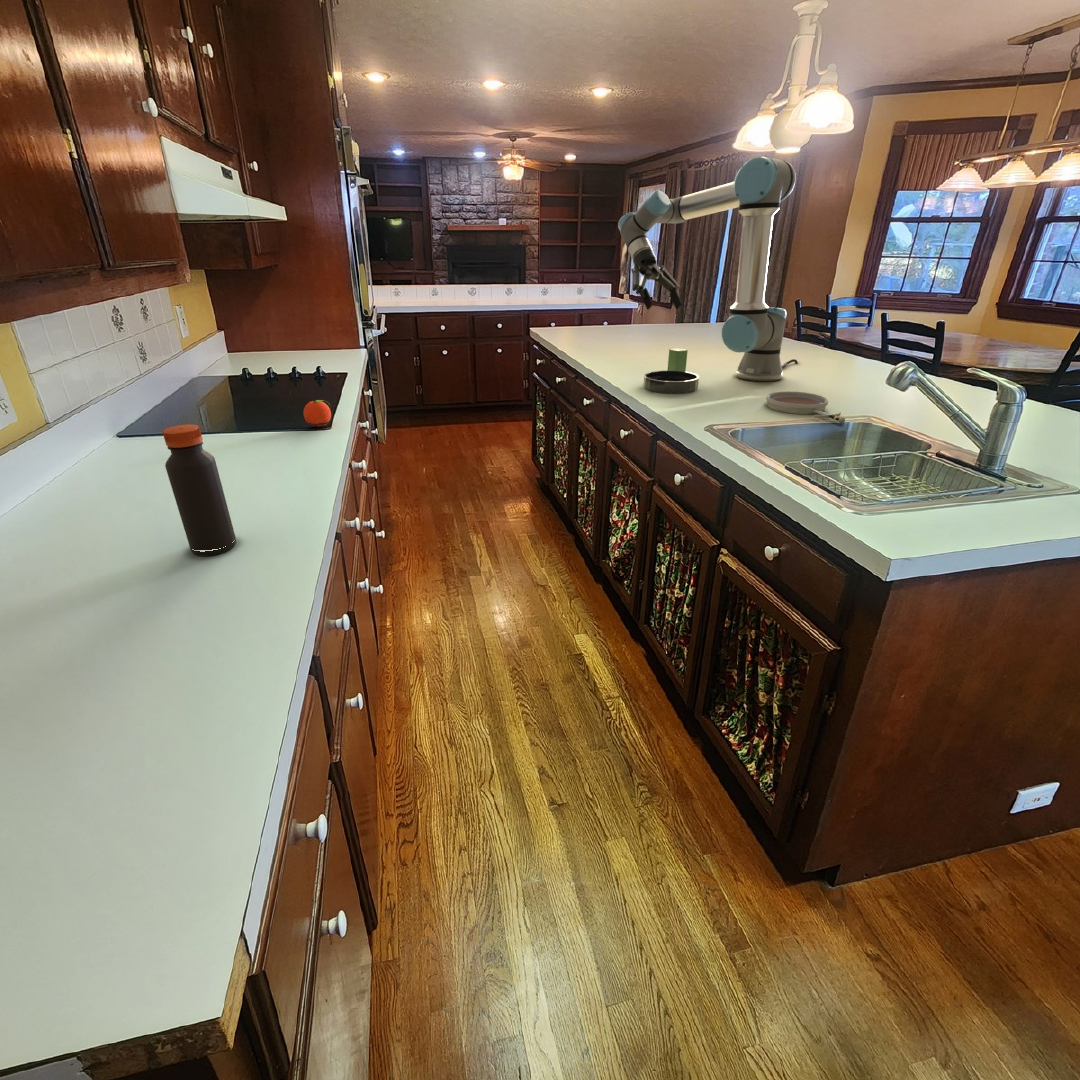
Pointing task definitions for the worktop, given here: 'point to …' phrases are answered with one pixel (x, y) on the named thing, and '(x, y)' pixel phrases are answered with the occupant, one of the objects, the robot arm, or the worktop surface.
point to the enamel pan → (671, 382)
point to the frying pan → (801, 404)
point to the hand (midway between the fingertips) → (665, 307)
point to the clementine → (317, 413)
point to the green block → (677, 359)
